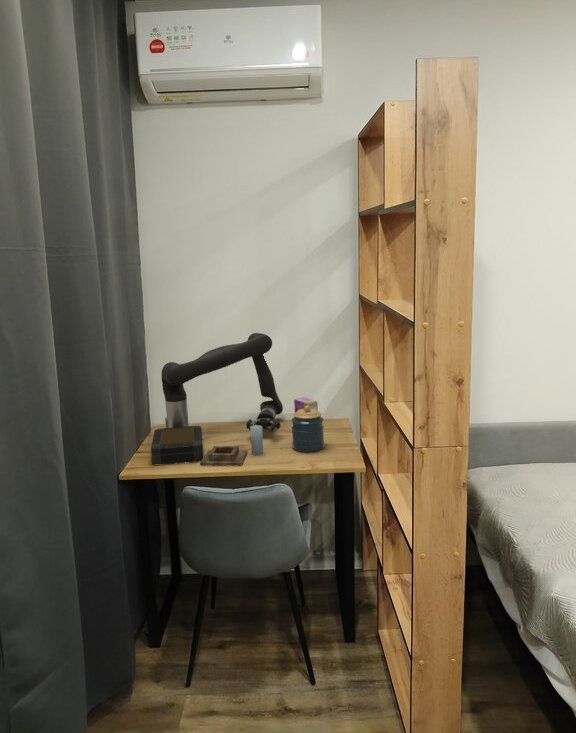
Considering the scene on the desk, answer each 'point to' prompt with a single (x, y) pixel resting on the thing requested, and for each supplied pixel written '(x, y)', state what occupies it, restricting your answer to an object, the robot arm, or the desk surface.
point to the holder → (224, 456)
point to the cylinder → (256, 440)
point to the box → (305, 403)
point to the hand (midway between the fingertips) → (261, 429)
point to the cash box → (177, 445)
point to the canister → (307, 430)
